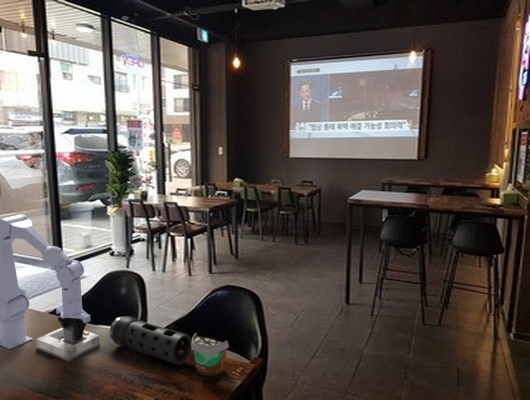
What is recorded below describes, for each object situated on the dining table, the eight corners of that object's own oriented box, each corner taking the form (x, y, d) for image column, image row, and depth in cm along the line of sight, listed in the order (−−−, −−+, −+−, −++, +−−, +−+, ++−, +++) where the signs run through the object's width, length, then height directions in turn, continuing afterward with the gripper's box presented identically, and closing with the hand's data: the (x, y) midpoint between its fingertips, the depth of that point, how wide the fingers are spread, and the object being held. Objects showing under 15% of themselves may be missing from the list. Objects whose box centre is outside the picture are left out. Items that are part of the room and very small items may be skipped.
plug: (64, 345, 136) (63, 328, 135) (75, 340, 139) (74, 323, 138) (72, 348, 134) (71, 331, 133) (83, 343, 137) (82, 326, 137)
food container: (183, 371, 125) (182, 340, 123) (195, 361, 130) (194, 332, 129) (218, 382, 120) (217, 350, 118) (228, 371, 125) (228, 340, 124)
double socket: (36, 348, 137) (36, 337, 137) (69, 334, 148) (68, 323, 147) (68, 361, 130) (67, 349, 129) (99, 345, 140) (99, 333, 140)
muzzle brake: (172, 373, 124) (172, 341, 122) (108, 350, 137) (106, 320, 136) (192, 359, 132) (192, 329, 131) (130, 338, 145) (128, 310, 144)
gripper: (46, 298, 135) (49, 337, 137) (75, 307, 128) (78, 348, 130) (66, 291, 141) (68, 329, 143) (94, 300, 134) (96, 339, 136)
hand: (74, 337), depth 137 cm, fingers open, 4 cm apart
